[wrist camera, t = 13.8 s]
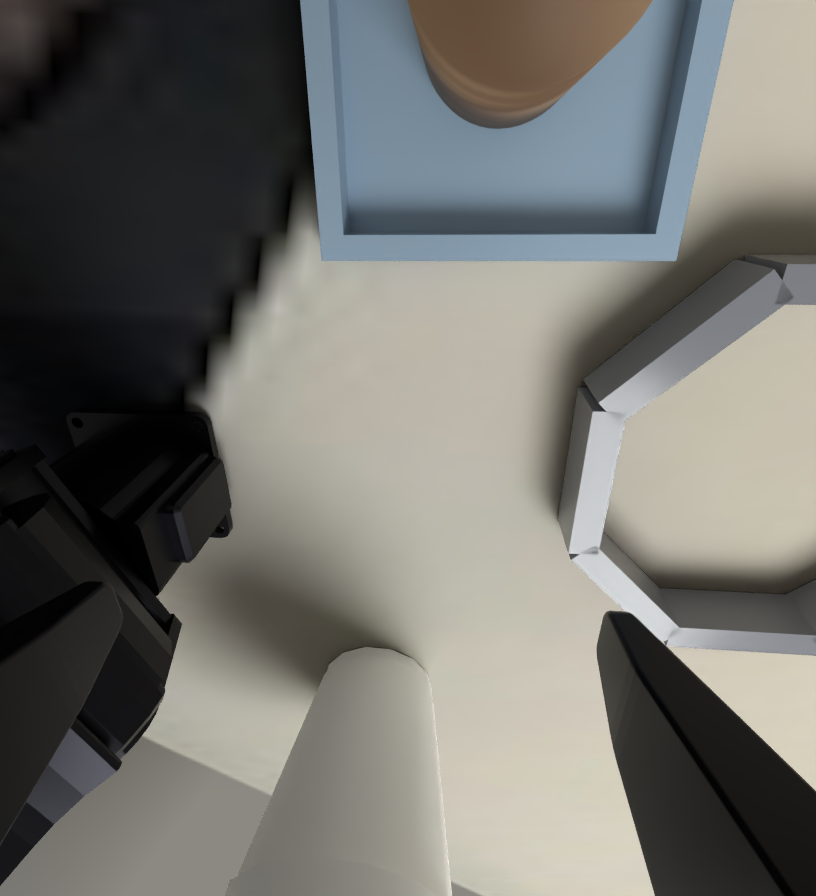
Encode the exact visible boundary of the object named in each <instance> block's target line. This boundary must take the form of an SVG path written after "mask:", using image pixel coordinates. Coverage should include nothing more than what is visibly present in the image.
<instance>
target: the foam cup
mask: <svg viewBox="0 0 816 896" xmlns="http://www.w3.org/2000/svg"><path fill="white" fill-rule="evenodd" d="M451 891H452V890H451V880H450V870H449V859H448V849H447V839H446V828H445V818H444V807H443V797H442V787H441V776H440V766H439V755H438V745H437V735H436V724H435V714H434V704H433V698H432V689H431V685H430V681H429V677H428V674H427V673H426V672H425V671H424V670H423V669H422V668H421V667H420V666H419V665H418V663H417V662H416V661H415V660H414V659H412V658H410V657H407V656H405V655H403V654H400V653H398V652H396V651H394V650H391V649H383V648H372V647H363V648H359V649H355V650H352V651H348V652H344V653H342V654H341V655H340V656H339V657H337V658H336V659H335V660H334V661H333V662H331V663H330V664H329V666H328V669H327V672H326V673H325V674H324V676H323V678H322V681H321V683H320V685H319V688H318V690H317V692H316V695H315V697H314V699H313V702H312V704H311V706H310V709H309V711H308V713H307V716H306V718H305V720H304V723H303V725H302V727H301V729H300V732H299V734H298V736H297V739H296V741H295V743H294V746H293V748H292V750H291V753H290V755H289V757H288V760H287V762H286V764H285V767H284V769H283V771H282V774H281V776H280V778H279V780H278V783H277V785H276V787H275V790H274V792H273V794H272V797H271V799H270V801H269V804H268V806H267V808H266V811H265V813H264V815H263V818H262V820H261V822H260V825H259V827H258V829H257V832H256V834H255V836H254V838H253V841H252V843H251V845H250V848H249V850H248V852H247V855H246V857H245V859H244V862H243V864H242V866H241V869H240V871H239V873H238V876H237V877H235V878H234V879H232V880H231V881H230V882H229V885H228V888H227V891H226V894H225V896H452V892H451Z"/></svg>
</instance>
